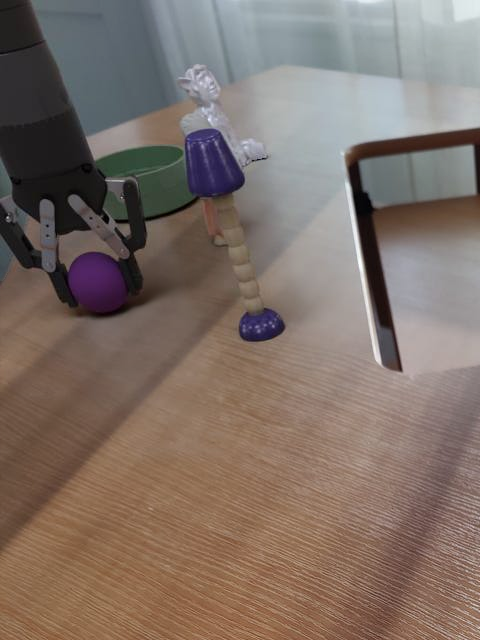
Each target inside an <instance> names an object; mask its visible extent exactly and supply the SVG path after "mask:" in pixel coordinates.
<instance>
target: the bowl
mask: <svg viewBox="0 0 480 640" xmlns="http://www.w3.org/2000/svg"><path fill="white" fill-rule="evenodd" d="M94 161H95V163H96V165H97V167H98V168H99V169H100V170H101V172H103V173H104V175H105V176H106V177H107V178H125V177H126V175H128V174H133V175H135V176H136V177H137V179H138V182H139V188H140V194H141V200H142V206H143V212H144V218H145V219H148V218H154V217H158V216H162V215H166V214H168V213H171V212H173V211H176V210H178V209H180V208H182V207H184V206H186V205H187V204H189V203H190V202H192V201H194V200H195V199H196V198H197V196H194V195H193V194H192V193H191V192H190V190H189V187H188V180H187V169H186V156H185V146H182V145H179V144H169V143H168V144H167V143H165V144H164V143H161V144H160V143H159V144H158V143H157V144H146V145H141V146H135V147H129V148H125V149H121V150H117V151H113V152H111V153H107V154H105V155H102V156H99V157H96V159H95V158H94ZM103 207H104V209H105V210H106V211H107V212H108V213H109V215H110V216H111V217H112V218H113V219H114V220H119V221H128V215H127V209H126V205H123V204H121V203H119V202H118V200H117V198H116V196H115V194H114V193H112V192H110V191H108V192H107V196H106V199H105V203H104V206H103ZM101 216H102V215H101Z"/></svg>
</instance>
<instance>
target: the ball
mask: <svg viewBox="0 0 480 640" xmlns="http://www.w3.org/2000/svg"><path fill="white" fill-rule="evenodd" d="M67 271H68V284H69V288H70V290H71V292H72V294H73V296H74V297H75V299H76V300H77V301H78V302H79V305H81V306H83V308H86V309H88V310H90V311H92V312H96V313H99V314H100V313H101V314H102V313H104V314H105V313H110V312H114V311H117V310H118V309H119V308H121V307H122V306H123V305H124V304H125V302H126V301H127V299H128V297H129V294H130V292H129V289H128V287H127V284H126V281H125V279H124V276H123V274H122V271H121V269H120V266H119V263H118V259H115V258H114V257H113V256H111V255H110V254H107V253H105V252H101V251H86V252H84V253H81V254H79V255H78V256H77V257H75V258H74V260H72V262H71V263H70V265H69V268H68V270H67Z"/></svg>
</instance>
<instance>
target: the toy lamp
mask: <svg viewBox="0 0 480 640" xmlns="http://www.w3.org/2000/svg"><path fill="white" fill-rule="evenodd" d="M184 148H185V156H186V169H187V180H188V187H189V190H190V192H191V193H192V194H193V195H194V196H196V197H198V198H200V197H205V198H210V197H211V199H212V202H213V204H214V206H215V207H216V208H217V218H218V221H219V223H220V225H221V226H222V227H223V237H224V240H225V242H226V243H227V245H226V246H227V253H228V257H229V259H230V261H231V263H233V265H232V269H233V274H234V276H235V278H236V280H238V289H239V292H240V294H241V296H242V297H243V306H244V308H245V310H246V311H245V313H244V314H243V315H242V316H241V317H240V320H239V323H238V334H239V337H240V338H241V339H243V340H246V341H249V342H251V341H252V342H260V341H266V340H269V339H272V338H274V337H277V336H278V335H280V334H282V332H283V331H284V329H285V325H286V324H285V322H284V320H283V319H282V316H281V315H280V314H279V313H278V312H277V311H276V310H274V309H272V308H270V307H265V301H264V298H263V297H262V295H261V294H260V285H259V282H258V280H257V278H256V270H255V267H254V264H253V263H252V261H251V253H250V248H249V246H248V244H247V243H246V242H245V237H246V236H245V232H244V229H243V227H242V226H241V224H240V214H239V212H238V210H237V208H236V206H235V205H234V204H235V203H234V201H235V200H234V192H237V191H239V190H240V189H242V188H243V186H244V185H245V184H246V177H245V174H244V172H243V169H242V170H241V168H240V166H239V164H238V162H237V160H236V158H235V157H234V155H233V153H232V151H231V149H230V147H229V145H228V144H227V142H226V140H225V138H224V136H223V135H222V133H221V132H220V131H219V130H217V129H201V130H197V131H194V132H192V133H190V134H188V135H187V136H186V138H185V137H184Z"/></svg>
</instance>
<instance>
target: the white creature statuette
mask: <svg viewBox="0 0 480 640" xmlns="http://www.w3.org/2000/svg"><path fill="white" fill-rule="evenodd" d="M176 84H177V86H178V87H179V88H180V89H182V90H184V92H186V94H187V96H188V97H189V99H190V100H191V101H192V103H194V105H196V108H195V109H194V111H193V113H196V114H199V115H201V116H202V117H204V118H206V119H207V120H208V121H209V123H210V124H211V126H212V127H213V128H214V129H217V130H219V131H220V132H221V133H222V135H223V136H224V138H225V140H226V142H227V144H228V145H229V147H230V149H231V151H232V153H233V155H234V157H235V158H236V160H237V162H238V164H239V166H240V168H241V170H242V171H243V167H246V165H247V166H248V165H249V164H250V163H252V162H253V161H252V160H254V161H258V160H257V159H262V158H266V157H267V158H268V156H267V150H266V149H267V148H266V145H265V143H264V142H263V141H258V140H256V139H254V138H252V137H249V138H243V139H240V140H239V138H237V132H236V131H235V130H234V128H233V127H232V122H231V121H230V118H229V117H228V114H227V112H226V110H225V109H224V108H223V104H222V102H221V91H222V88H221V86H220V85H219V82H218V81H217V79H216V78H215V75H214V73H213V72H212V71H211V70H209V69H208V68H207V65H206V64H199V63H196V64H194V65H193V67H190V68H188V69H187V70H186V71H185V73H184V77H177V79H176ZM262 160H263V159H262Z"/></svg>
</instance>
